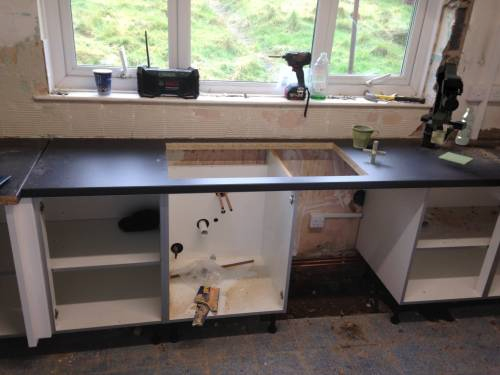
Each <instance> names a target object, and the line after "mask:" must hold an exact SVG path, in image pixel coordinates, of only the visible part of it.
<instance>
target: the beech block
mask: <svg viewBox="0 0 500 375" xmlns="http://www.w3.org/2000/svg"><path fill="white" fill-rule="evenodd" d="M446 132H447V131H445V130H443V131H441V130H435V131H433V134H432V138H431V142H432V143H436V144H437V145H441V146H442V145H444V144H446V143H447V140H446V141H445V142H444V138H445V135H446Z"/></svg>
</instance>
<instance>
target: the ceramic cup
mask: <svg viewBox="0 0 500 375" xmlns="http://www.w3.org/2000/svg"><path fill="white" fill-rule="evenodd" d="M375 132H377V134H376V135H375V136H373V137H372V135H373V134H374V133H375ZM379 135H380V132H379V130H377V129H374V127H372V126H369V125H366V124H355V125H353V126H352V137H353V139H352V141H353V143H352V144H353V148H355V149H360V150H363V149H368V144H369V142H371V140H373V139H374V138H376V137H377V136H379Z"/></svg>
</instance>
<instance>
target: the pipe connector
mask: <svg viewBox="0 0 500 375" xmlns="http://www.w3.org/2000/svg"><path fill="white" fill-rule="evenodd" d="M378 144H379V141H377V140H374V141H373V146H372V149H369V148H365V149H362V153H363V154H364V153H365V154H370V155H371V157H370V163H371V164H375V162H376V156H377V155H378V156H383V157H385V156H386V154H387V152H386V151H383V150H382V151H381V150H378V146H379V145H378Z"/></svg>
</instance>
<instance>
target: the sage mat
mask: <svg viewBox="0 0 500 375" xmlns="http://www.w3.org/2000/svg"><path fill="white" fill-rule="evenodd" d="M438 159H443V160H445V161H450V162H453V163H457V164H461V165H463V166H465V165H466V164H467V163H469V162H471V161H473V160H474V158H472V157H469V156H465V155H461V154H457V153H453V152H451V151H448V152H446V153H444V154H442V155H439V156H438Z"/></svg>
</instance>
